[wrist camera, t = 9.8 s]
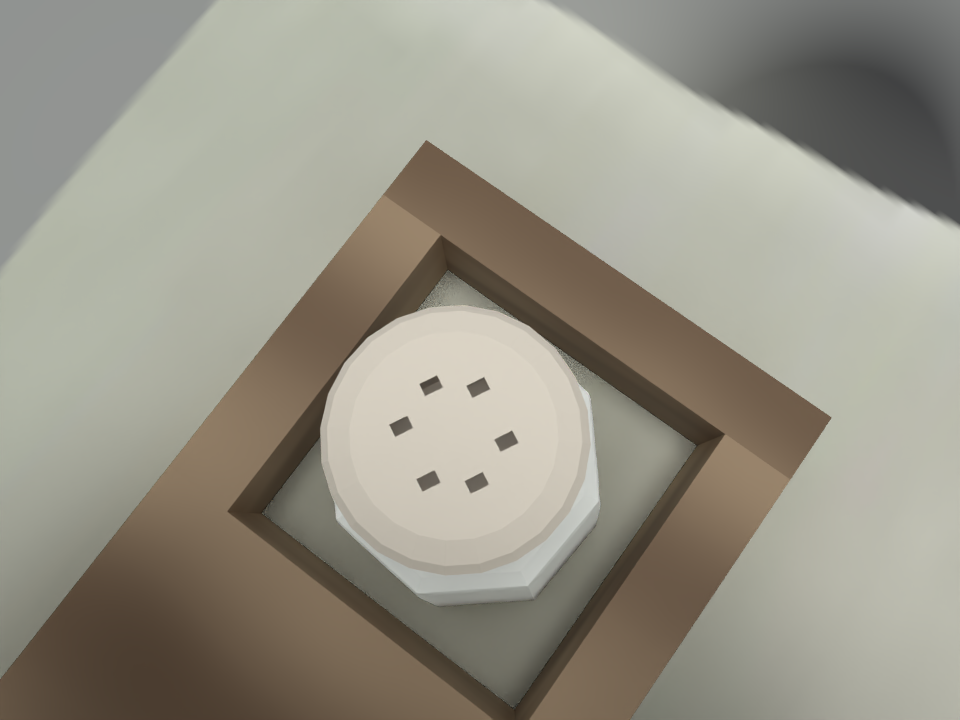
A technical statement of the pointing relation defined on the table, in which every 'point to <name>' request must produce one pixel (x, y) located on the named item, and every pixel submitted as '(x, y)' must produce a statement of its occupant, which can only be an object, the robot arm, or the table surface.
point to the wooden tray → (334, 600)
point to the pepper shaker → (462, 455)
